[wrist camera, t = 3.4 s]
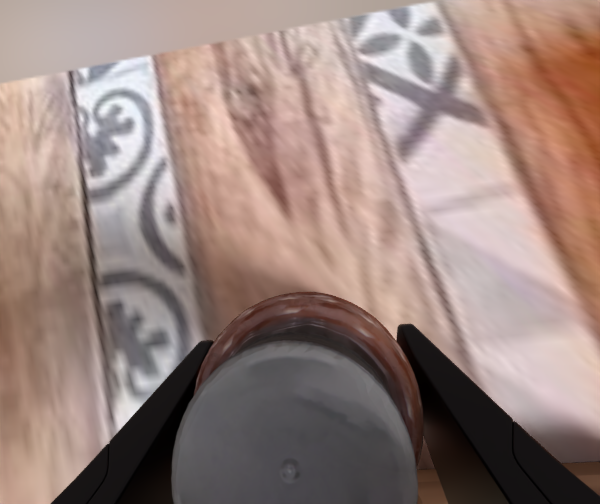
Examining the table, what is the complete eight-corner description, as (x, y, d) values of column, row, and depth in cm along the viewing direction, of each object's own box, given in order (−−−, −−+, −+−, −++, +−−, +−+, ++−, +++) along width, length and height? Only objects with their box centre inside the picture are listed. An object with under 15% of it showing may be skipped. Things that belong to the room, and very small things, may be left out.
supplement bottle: (267, 295, 16) (142, 266, 5) (373, 301, 16) (483, 285, 5) (258, 407, 15) (73, 671, 4) (371, 419, 15) (511, 770, 3)
